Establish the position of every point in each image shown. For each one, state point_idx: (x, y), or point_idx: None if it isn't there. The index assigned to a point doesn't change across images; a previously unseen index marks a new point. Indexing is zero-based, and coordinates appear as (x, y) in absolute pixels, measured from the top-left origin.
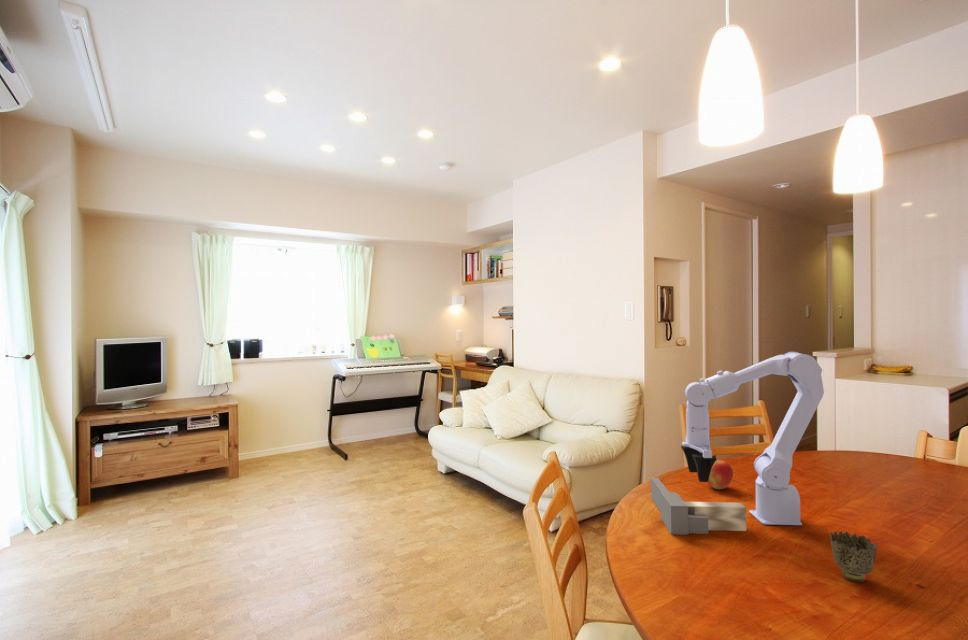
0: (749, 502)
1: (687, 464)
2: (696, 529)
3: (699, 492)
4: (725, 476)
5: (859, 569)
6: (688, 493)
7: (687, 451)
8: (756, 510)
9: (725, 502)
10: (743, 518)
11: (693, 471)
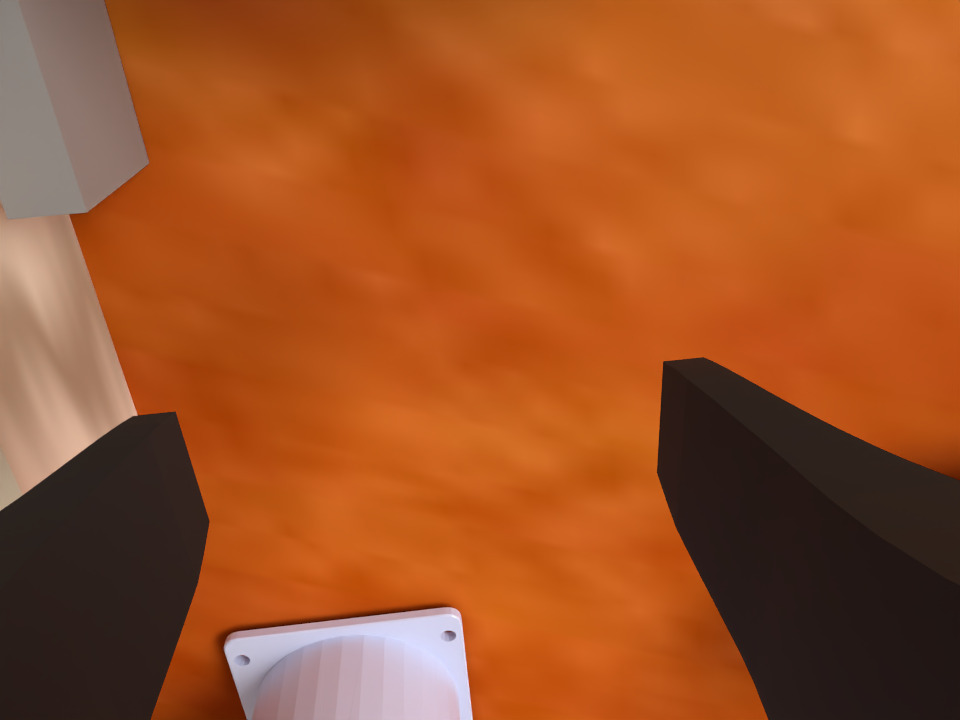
0: (654, 642)
1: (778, 399)
2: None
3: (900, 354)
4: None
5: None
6: (891, 246)
7: (932, 662)
8: (355, 667)
9: None
10: None
11: (664, 423)
